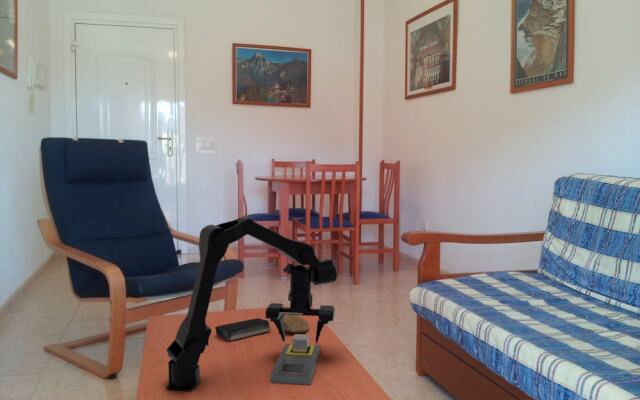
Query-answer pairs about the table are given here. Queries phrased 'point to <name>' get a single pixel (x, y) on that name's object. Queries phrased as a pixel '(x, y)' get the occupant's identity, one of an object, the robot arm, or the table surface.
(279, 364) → the grey board with holes
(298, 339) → the grey metal block
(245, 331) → the black sponge
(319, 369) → the table surface
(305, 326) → the stone
